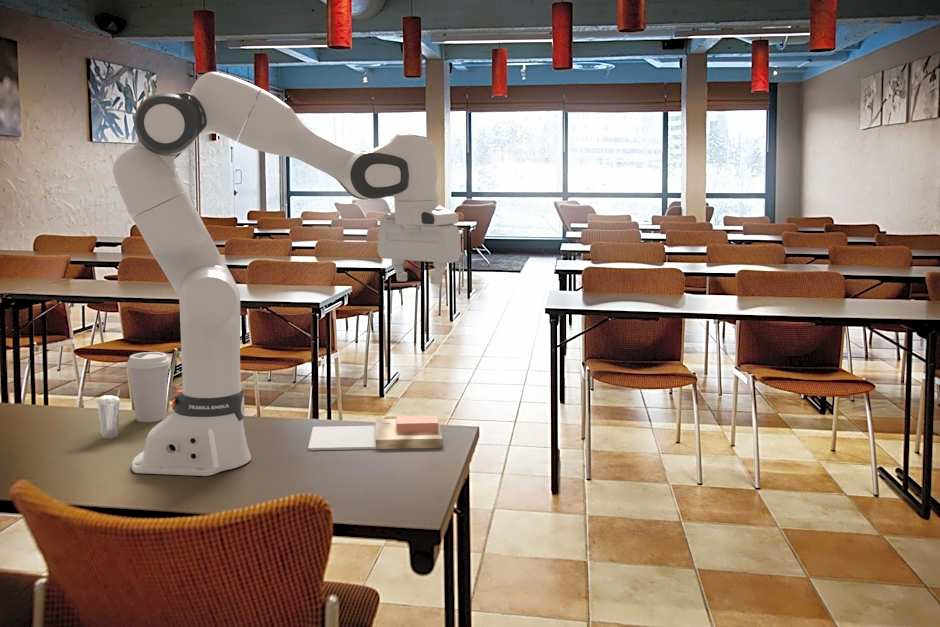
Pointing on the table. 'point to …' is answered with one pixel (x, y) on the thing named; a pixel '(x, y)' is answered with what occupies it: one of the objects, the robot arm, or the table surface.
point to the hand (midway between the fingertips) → (418, 282)
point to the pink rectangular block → (416, 424)
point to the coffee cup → (149, 385)
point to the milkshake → (108, 415)
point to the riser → (404, 437)
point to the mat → (343, 438)
